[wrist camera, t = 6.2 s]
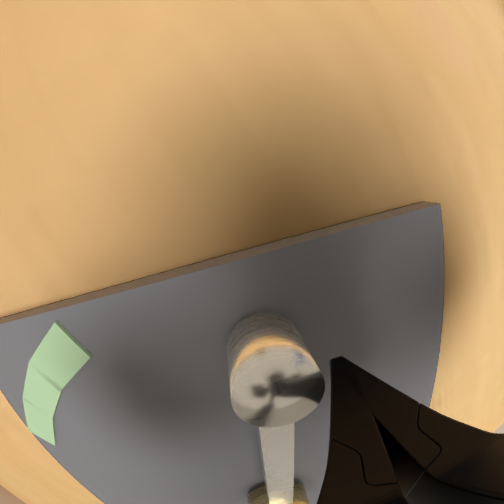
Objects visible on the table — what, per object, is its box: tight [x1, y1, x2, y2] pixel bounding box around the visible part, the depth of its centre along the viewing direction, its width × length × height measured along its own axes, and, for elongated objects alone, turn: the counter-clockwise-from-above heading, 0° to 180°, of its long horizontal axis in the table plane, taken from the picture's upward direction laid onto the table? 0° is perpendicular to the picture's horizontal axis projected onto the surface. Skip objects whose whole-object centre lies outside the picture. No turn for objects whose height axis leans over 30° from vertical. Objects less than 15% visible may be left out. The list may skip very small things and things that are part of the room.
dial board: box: [0, 202, 444, 504], centre depth 12 cm, size 22×24×1 cm
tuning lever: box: [226, 313, 325, 504], centre depth 10 cm, size 15×4×3 cm, turn 5°
